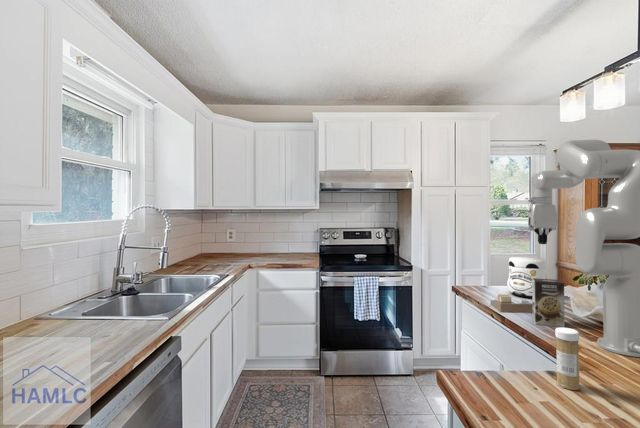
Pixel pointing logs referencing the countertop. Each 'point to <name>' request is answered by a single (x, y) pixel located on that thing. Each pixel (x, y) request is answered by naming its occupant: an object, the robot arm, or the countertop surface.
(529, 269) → the milk container
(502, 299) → the maple cube
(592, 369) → the countertop surface
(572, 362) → the sprinkles bottle
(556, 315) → the cookie box
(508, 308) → the trap board
